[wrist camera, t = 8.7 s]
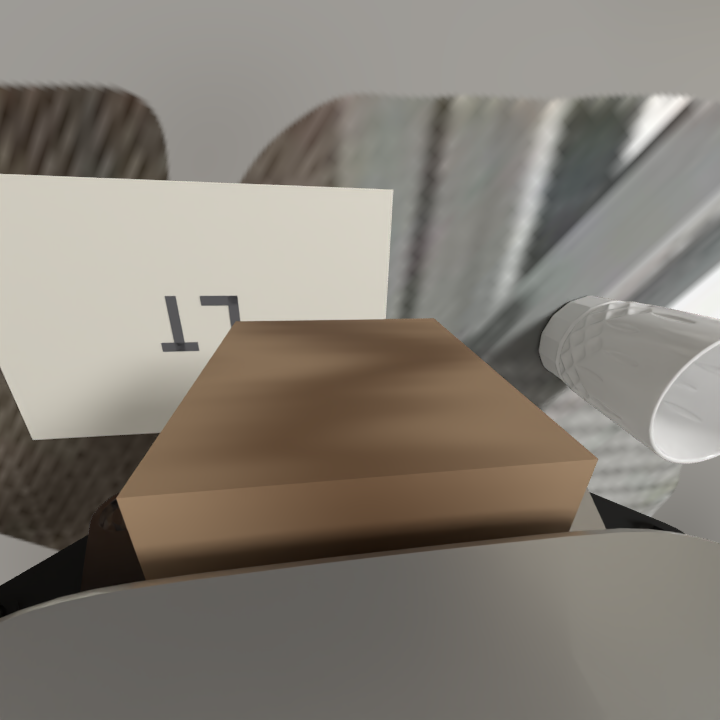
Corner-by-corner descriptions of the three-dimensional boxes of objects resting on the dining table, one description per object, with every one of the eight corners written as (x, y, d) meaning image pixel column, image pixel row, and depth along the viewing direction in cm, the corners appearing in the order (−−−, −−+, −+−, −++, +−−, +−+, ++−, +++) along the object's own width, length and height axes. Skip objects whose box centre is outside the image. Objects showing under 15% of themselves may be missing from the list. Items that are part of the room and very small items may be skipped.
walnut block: (434, 318, 11) (598, 458, 5) (415, 467, 14) (506, 686, 7) (235, 321, 10) (116, 498, 4) (256, 479, 13) (204, 740, 6)
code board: (390, 190, 20) (393, 189, 19) (378, 416, 26) (379, 420, 26) (-75, 171, 17) (-89, 170, 16) (39, 434, 23) (32, 440, 22)
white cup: (569, 271, 24) (732, 305, 15) (645, 308, 26) (827, 358, 17) (512, 366, 26) (619, 445, 17) (584, 393, 28) (715, 476, 19)
